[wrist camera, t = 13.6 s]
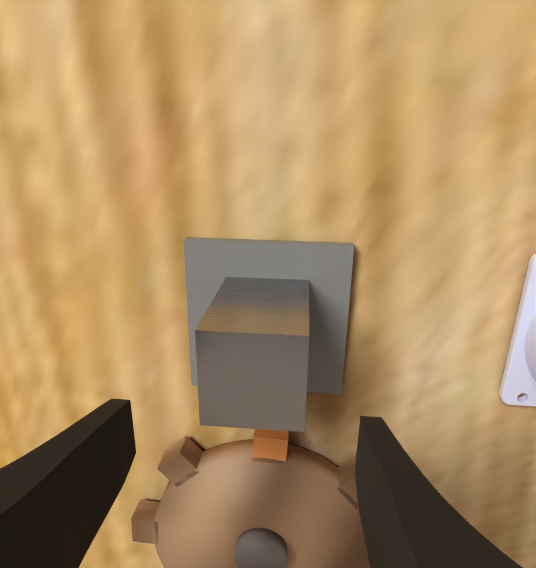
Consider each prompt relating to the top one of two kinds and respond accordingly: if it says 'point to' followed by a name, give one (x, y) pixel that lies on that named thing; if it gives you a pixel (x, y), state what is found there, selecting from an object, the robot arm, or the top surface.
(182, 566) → the sprocket wheel
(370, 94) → the top surface
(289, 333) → the link block
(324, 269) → the mat
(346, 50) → the top surface
